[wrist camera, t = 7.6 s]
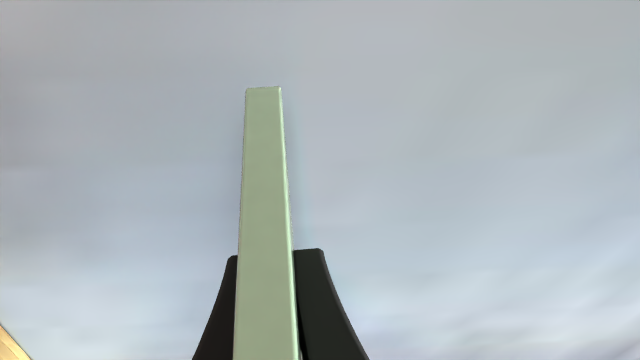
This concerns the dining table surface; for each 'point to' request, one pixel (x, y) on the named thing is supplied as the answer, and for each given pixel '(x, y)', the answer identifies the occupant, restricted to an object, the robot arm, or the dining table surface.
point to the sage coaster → (265, 238)
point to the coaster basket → (10, 348)
